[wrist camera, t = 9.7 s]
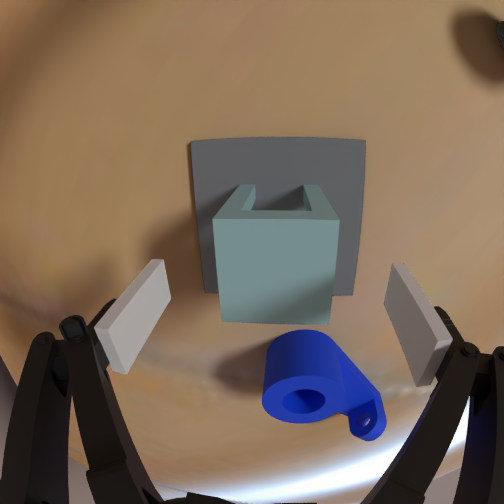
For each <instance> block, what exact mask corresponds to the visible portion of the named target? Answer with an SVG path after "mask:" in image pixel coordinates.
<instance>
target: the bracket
mask: <svg viewBox="0 0 504 504" xmlns="http://www.w3.org/2000/svg"><path fill="white" fill-rule="evenodd" d="M262 405H263V407H264V409H265V411H266V412H267V413H268V414H270V415H271V416H272V417H274V418H276V419H278V420H281V421H284V422H289V423H311V422H316V421H320V420H323V419H325V418H328V417H330V416H331V415H333V414H335V413H336V412H338V413H341V414H344V415H346V416H348V419H349V427H350V432H351V433H352V434H353V435H354V436H356V437H358V438H360V439H362V440H365V441H372V440H375V439H377V438H378V437H379V436H380V435H381V434H382V433H383V432H384V430H385V428H386V423H387V420H386V416H385V412H384V407H383V403H382V399H381V395H380V393H379V392H378V391H377V389H376V388H375V387H374V386H373V385H372V384H371V383H370V382H369V380H368V379H367V378H366V377H365V376H364V375H363V374H362V372H361V371H360V370H359V369H358V368H357V367H356V366H355V365H354V363H353V362H352V361H351V360H350V359H349V358H348V357H347V355H346V354H345V353H344V352H343V351H342V350H341V349H340V348H339V346H338V345H337V344H336V343H335V342H334V341H333V340H332V339H331V338H330V337H329V336H327V335H326V334H324V333H321V332H318V331H314V330H295V331H291V332H288V333H285V334H283V335H281V336H280V337H278V338H277V339H275V340H274V341H273V342H272V344H271V345H270V346H269V348H268V351H267V357H266V367H265V377H264V386H263V395H262ZM369 419H370V421H369V423H368V424H367V425H366V422H367V421H368V420H369ZM365 425H366V426H365Z"/></svg>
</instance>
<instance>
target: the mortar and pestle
mask: <svg viewBox="0 0 504 504" xmlns="http://www.w3.org/2000/svg"><path fill="white" fill-rule="evenodd" d="M496 32H497V35H498V39H499V42H500V45H501V47H502V48H503V50H504V21H502V22H498V26H497V30H496Z"/></svg>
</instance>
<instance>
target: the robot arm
mask: <svg viewBox="0 0 504 504" xmlns="http://www.w3.org/2000/svg"><path fill="white" fill-rule="evenodd" d="M170 300H171V295H170V290H169V285H168V280H167V275H166V269H165V264H164V259H152V260H151V261H150V262H149V263H148V264H147V265H146V266H145V268H144V269H143V270H142V271H141V272H140V273H139V274H138V275H137V277H136V278H135V279H134V280H133V281H132V282H131V283H130V285H129V286H128V287H127V288H126V289H125V290H124V292H123V293H122V294H121V295H120V296H119V298H118V299H113V300H111V301H110V302H108V303H106V304H105V306H104V307H103V308H102V309H101V311H99V313H98V314H97V315H96V316H95V317H94V319H93V320H92V321H91V322H90V323H89V325H88V326H86V323H85V321H84V319H83V317H82V316H80V315H73V316H69V317H67V318H65V319H64V320H63V321H62V322H61V323H60V325H59V329H60V331H61V333H62V336H63V338H64V340H56V339H55V337H54V335H53V334H52V333H51V332H43V333H40V334H38V335H37V336H36V337H35V338H34V339H33V341H32V344H31V346H30V349H29V352H28V355H27V358H26V361H25V364H24V368H23V371H22V374H21V378H20V381H19V385H18V388H17V392H16V396H15V400H14V404H13V408H12V413H11V417H10V422H9V427H8V432H7V438H6V444H5V451H4V459H3V467H2V477H1V480H0V504H69V489H68V437H69V420H70V408H71V397H73V403H74V408H75V413H76V418H77V422H78V427H79V431H80V435H81V439H82V443H83V447H84V450H85V454H86V457H87V461H88V464H89V470H88V471H86V476H87V481H88V484H89V487H90V490H91V492H92V495H93V498H94V501H95V503H96V504H235V503H232V502H229V501H226V500H224V499H221V498H218V497H212V496H206V495H201V494H195V493H190V492H187V496H186V497H183V498H175V499H170V500H166V501H164V500H163V499H162V497H161V496H160V494H159V493H158V492H157V490H156V489H155V487H154V486H153V484H152V482H151V480H150V478H149V476H148V474H147V472H146V470H145V468H144V466H143V464H142V461H141V459H140V457H139V455H138V453H137V450H136V448H135V446H134V443H133V441H132V439H131V436H130V434H129V431H128V429H127V426H126V424H125V421H124V419H123V416H122V413H121V410H120V408H119V405H118V402H117V399H116V396H115V393H114V390H113V387H112V384H111V381H110V378H109V374H108V372H107V370H106V368H107V366H108V365H109V363H110V366H111V368H112V370H113V372H117V373H121V374H126V375H127V373H128V371H129V370H130V368H131V366H132V364H133V363H134V361H135V359H136V357H137V356H138V354H139V352H140V350H141V349H142V347H143V345H144V343H145V342H146V340H147V338H148V337H149V335H150V333H151V332H152V330H153V328H154V326H155V325H156V323H157V321H158V320H159V318H160V316H161V315H162V313H163V311H164V310H165V308H166V306H167V305H168V303H169V302H170ZM384 306H385V308H386V310H387V313H388V315H389V317H390V320H391V322H392V324H393V327H394V329H395V332H396V334H397V337H398V339H399V341H400V344H401V347H402V349H403V352H404V354H405V357H406V359H407V362H408V365H409V367H410V370H411V373H412V376H413V379H414V381H415V384H416V387H418V386H425V385H431V383H432V381H433V379H434V377H435V376H436V378H437V381H438V383H437V385H436V386H435V388H434V390H433V392H432V393H431V395H430V399H429V401H428V403H427V405H426V406H425V408H424V410H423V412H422V414H421V416H420V418H419V419H418V421H417V423H416V425H415V426H414V428H413V430H412V432H411V433H410V435H409V437H408V438H407V440H406V441H405V443H404V445H403V446H402V448H401V449H400V451H399V452H398V454H397V455H396V457H395V458H394V460H393V461H392V463H391V464H390V466H389V467H388V469H387V470H386V471H385V473H384V474H383V476H382V477H381V478H380V480H379V481H378V482H377V484H376V485H375V486H374V487H373V489H372V490H371V491H370V493H369V494H368V495H367V496H366V497H365V499H364V500H363V501H362V502H361V503H360V504H423V503H424V500H425V496H424V494H425V492H426V490H427V488H428V486H429V485H430V483H431V481H432V479H433V478H434V476H435V474H436V472H437V470H438V468H439V466H440V464H441V462H442V460H443V458H444V456H445V454H446V452H447V450H448V448H449V446H450V443H451V441H452V439H453V437H454V434H455V432H456V430H457V427H458V425H459V422H460V420H461V417H462V414H463V412H464V409H465V406H466V403H467V401H468V398H469V396H470V405H469V418H468V428H467V436H466V444H465V450H464V456H463V462H462V467H461V472H460V477H459V481H458V486H457V490H456V494H455V498H454V501H453V504H504V346H499V347H496V348H495V350H494V351H493V353H492V354H483V353H480V351H479V349H478V348H477V347H476V346H475V345H474V344H472V343H469V342H465V341H464V340H463V338H462V337H461V335H460V333H459V332H458V330H457V328H456V327H455V325H454V324H453V322H452V320H450V317H449V316H448V314H447V313H446V312H445V311H444V310H443V309H442V308H440V307H439V306H437V307H433V306H432V304H431V302H430V301H429V299H428V298H427V296H426V295H425V293H424V292H423V290H422V289H421V287H420V286H419V284H418V283H417V281H416V280H415V278H414V277H413V275H412V274H411V273H410V271H409V270H408V268H407V267H406V266H405V264H404V263H392V267H391V272H390V277H389V282H388V287H387V291H386V296H385V300H384ZM282 504H317V503H282Z"/></svg>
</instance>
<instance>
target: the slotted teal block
mask: <svg viewBox="0 0 504 504" xmlns="http://www.w3.org/2000/svg"><path fill="white" fill-rule="evenodd" d="M255 199H256V197H255V184H252V185H239V186H238V188H237V189H236V190H235V191H234V193H233V194H232V195H231V196H230V198H229V199H228V200H227V201H226V203H225V204H224V205H223V206H222V208H221V209H220V210H219V211H218V213H217V214H216V215H215V216H214V218H213V232H214V244H215V256H216V267H217V278H218V288H219V299H220V308H221V318H222V322H241V323H265V324H329V318H330V311H331V303H332V295H333V287H334V278H335V269H336V259H337V248H338V236H339V223H340V220H339V218H338V217H337V215H336V213H335V211H334V210H333V208H332V206H331V205H330V203H329V201H328V200H327V198H326V196H325V195H324V193H323V191H322V190H321V188H320V187H319V185H303V201H304V205H305V208H306V211H277V210H251V209H252V207H253V204H254V202H255Z"/></svg>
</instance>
